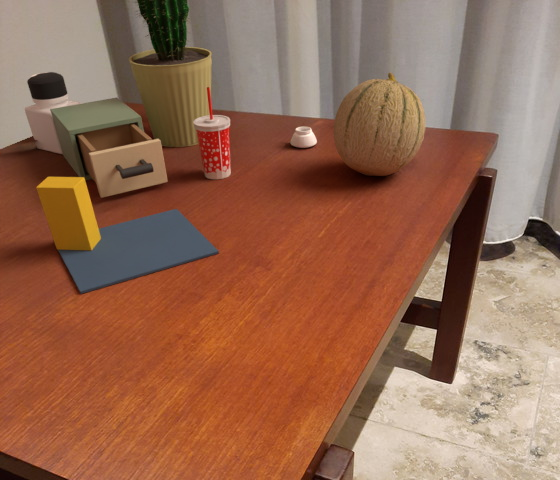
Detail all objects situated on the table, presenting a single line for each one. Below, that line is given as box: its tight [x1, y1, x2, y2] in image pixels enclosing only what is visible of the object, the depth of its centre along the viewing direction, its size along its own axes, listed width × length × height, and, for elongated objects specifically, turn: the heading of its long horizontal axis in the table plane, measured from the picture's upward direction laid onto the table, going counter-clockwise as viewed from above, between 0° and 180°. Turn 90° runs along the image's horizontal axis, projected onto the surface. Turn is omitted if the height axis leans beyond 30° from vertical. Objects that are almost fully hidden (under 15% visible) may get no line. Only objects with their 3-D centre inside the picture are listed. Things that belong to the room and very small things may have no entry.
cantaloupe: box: [333, 72, 426, 177], centre depth 90 cm, size 15×15×15 cm
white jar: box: [289, 126, 318, 149], centre depth 106 cm, size 5×3×5 cm
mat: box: [53, 208, 220, 295], centre depth 78 cm, size 19×16×1 cm
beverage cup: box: [193, 87, 232, 180], centre depth 93 cm, size 6×6×14 cm
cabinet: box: [50, 97, 145, 181], centre depth 101 cm, size 15×13×9 cm
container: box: [24, 71, 82, 155], centre depth 107 cm, size 8×8×13 cm
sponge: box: [36, 176, 101, 251], centre depth 76 cm, size 4×5×9 cm
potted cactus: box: [128, 0, 213, 148], centre depth 103 cm, size 15×15×30 cm
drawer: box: [75, 123, 169, 198], centre depth 92 cm, size 18×11×7 cm, turn 29°
